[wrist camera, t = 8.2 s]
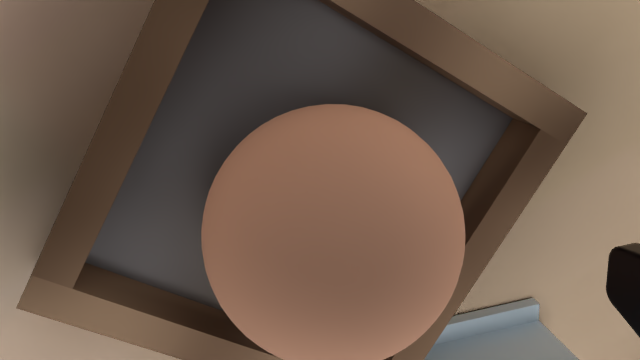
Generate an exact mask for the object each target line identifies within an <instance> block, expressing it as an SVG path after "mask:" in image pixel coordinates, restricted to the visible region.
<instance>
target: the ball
mask: <svg viewBox="0 0 640 360" xmlns="http://www.w3.org/2000/svg"><path fill="white" fill-rule="evenodd" d="M201 242H202V253H203V259H204V265H205V270H206V273H207V276H208V279H209V282H210V285H211V287H212V290H213V292H214V294H215V296H216V298H217V300H218V302H219V304H220V306H221V307H222V309H223V310H224V311H225V313H226V314H227V316H228V317H229V318H230V320H231V321H232V322H233V323H234V324H235V326H236V327H237V328H238V329H239V330H240V331H241V332H242V333H243V334H244V335H245V336H246V337H247V338H249V339H250V340H251V341H253V342H254V343H255V344H257V345H258V346H259V347H261V348H263V349H264V350H266V351H267V352H269V353H271V354H273V355H275V356H276V357H278V358H281V359H283V360H384V359H386V358H388V357H391V356H393V355H395V354H396V353H398V352H400V351H402V350H403V349H405V348H406V347H408V346H409V345H411V344H412V343H413V342H415V341H416V340H417V339H418V338H419V337H421V336H422V335H423V334H424V333H425V332H426V331H427V330H428V329H429V328H430V327H431V325H432V324H433V323H434V322H435V321H436V320H437V319H438V317H439V316H440V314H441V313H442V312H443V310H444V309H445V307H446V306H447V304H448V302H449V300H450V299H451V297H452V294H453V292H454V290H455V287H456V285H457V282H458V279H459V275H460V272H461V268H462V265H463V259H464V253H465V223H464V214H463V210H462V206H461V202H460V198H459V195H458V192H457V189H456V187H455V185H454V182H453V180H452V177H451V176H450V174H449V172H448V171H447V169H446V167H445V166H444V164H443V163H442V161H441V160H440V158H439V157H438V155H437V154H436V153H435V152H434V151H433V149H432V148H431V147H430V146H429V145H428V144H427V143H426V142H425V141H424V140H423V139H421V138H420V137H419V136H418V135H417V134H416V133H415V132H413V131H412V130H411V129H410V128H408V127H406V126H405V125H403V124H402V123H400V122H399V121H397V120H395V119H393V118H391V117H388V116H386V115H384V114H382V113H379V112H377V111H373V110H370V109H367V108H363V107H359V106H352V105H346V104H323V105H315V106H307V107H303V108H299V109H296V110H292V111H289V112H287V113H284V114H282V115H279V116H277V117H275V118H273V119H271V120H269V121H268V122H266V123H264V124H262V125H261V126H260V127H258V128H257V129H255V130H254V131H253V132H251V133H250V134H249V135H248V136H247V137H246V138H244V139H243V140H242V141H241V142H240V143H239V144H238V145H237V146H236V147H235V149H234V150H233V151H232V152H231V154H230V155H229V156H228V157H227V159H226V160H225V161H224V163H223V165H222V166H221V168H220V170H219V171H218V173H217V175H216V176H215V178H214V181H213V183H212V185H211V188H210V190H209V193H208V196H207V200H206V204H205V207H204V213H203V220H202V228H201Z"/></svg>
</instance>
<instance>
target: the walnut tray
mask: <svg viewBox="0 0 640 360" xmlns="http://www.w3.org/2000/svg"><path fill="white" fill-rule="evenodd" d="M323 104H346V105H352V106H359V107H363V108H367V109H370V110H373V111H377V112H379V113H382V114H384V115H386V116H388V117H391V118H393V119H395V120H397V121H399V122H400V123H402V124H403V125H405V126H406V127H408V128H410V129H411V130H412V131H413V132H415V133H416V134H417V135H418V136H419V137H420V138H421V139H423V140H424V141H425V142H426V143H427V144H428V145H429V146H430V147H431V148H432V149H433V151H434V152H435V153H436V154H437V155H438V157H439V158H440V160H441V161H442V163H443V164H444V166H445V167H446V169H447V171H448V172H449V174H450V176H451V177H452V180H453V182H454V185H455V187H456V189H457V192H458V195H459V198H460V202H461V206H462V210H463V214H464V223H465V253H464V259H463V265H462V268H461V272H460V275H459V279H458V282H457V285H456V287H455V290H454V292H453V294H452V297H451V299H450V300H449V302H448V304H447V306H446V307H445V309H444V310H443V312H442V313H441V314H440V316H439V317H438V319H437V320H436V321H435V322H434V323H433V324H432V325H431V327H430V328H429V329H428V330H427V331H426V332H425V333H424V334H423V335H422V336H421V337H419V338H418V339H417V340H416V341H415V342H413V343H412V344H411V345H409V346H408V347H406V348H405V349H403V350H402V351H400V352H398V353H396V354H395V355H393V356H391V357H388V358H386V359H384V360H424V359H425V357H426V356H427V354H428V353H429V351H430V350H431V348H432V347H433V345H434V344H435V342H436V341H437V339H438V338H439V336H440V335H441V333H442V332H443V330H444V329H445V327H446V326H447V324H448V323H449V321H450V320H451V318H452V317H453V315H454V314H455V312H456V311H457V309H458V308H459V306H460V305H461V303H462V302H463V300H464V299H465V297H466V296H467V294H468V293H469V291H470V290H471V288H472V287H473V285H474V283H475V282H476V280H477V279H478V277H479V276H480V274H481V273H482V271H483V270H484V268H485V267H486V265H487V264H488V262H489V261H490V259H491V258H492V256H493V255H494V253H495V252H496V250H497V249H498V247H499V246H500V244H501V243H502V241H503V240H504V238H505V237H506V235H507V234H508V232H509V231H510V229H511V228H512V226H513V225H514V223H515V222H516V220H517V219H518V217H519V216H520V214H521V213H522V211H523V210H524V208H525V207H526V205H527V204H528V202H529V200H530V199H531V197H532V196H533V194H534V193H535V191H536V190H537V188H538V187H539V185H540V184H541V182H542V181H543V179H544V178H545V176H546V175H547V173H548V172H549V170H550V169H551V167H552V166H553V164H554V163H555V161H556V160H557V158H558V157H559V155H560V154H561V152H562V151H563V149H564V148H565V146H566V145H567V143H568V142H569V140H570V139H571V137H572V136H573V134H574V133H575V131H576V130H577V128H578V127H579V125H580V124H581V122H582V121H583V119H584V118H585V116H586V114H587V113H586V112H584V111H583V110H581V109H580V108H578V107H576V106H575V105H573V104H572V103H570V102H569V101H567V100H566V99H564V98H563V97H561V96H560V95H558V94H557V93H555V92H554V91H552V90H550V89H549V88H547V87H546V86H544V85H543V84H541V83H540V82H538V81H537V80H535V79H534V78H532V77H531V76H529V75H527V74H526V73H524V72H523V71H521V70H520V69H518V68H517V67H515V66H514V65H512V64H511V63H509V62H508V61H506V60H505V59H503V58H501V57H500V56H498V55H497V54H495V53H494V52H492V51H491V50H489V49H488V48H486V47H485V46H483V45H482V44H480V43H478V42H477V41H475V40H474V39H472V38H471V37H469V36H468V35H466V34H465V33H463V32H462V31H460V30H459V29H457V28H456V27H454V26H452V25H451V24H449V23H448V22H446V21H445V20H443V19H442V18H440V17H439V16H437V15H436V14H434V13H433V12H431V11H429V10H428V9H426V8H425V7H423V6H422V5H420V4H419V3H417V2H416V1H414V0H155V1H154V3H153V6H152V8H151V10H150V12H149V14H148V17H147V19H146V21H145V23H144V26H143V28H142V30H141V32H140V34H139V37H138V39H137V41H136V43H135V45H134V48H133V50H132V52H131V54H130V57H129V59H128V61H127V63H126V65H125V68H124V70H123V72H122V74H121V77H120V79H119V81H118V83H117V85H116V88H115V90H114V92H113V94H112V97H111V99H110V101H109V103H108V105H107V108H106V110H105V112H104V114H103V117H102V119H101V121H100V123H99V125H98V128H97V130H96V132H95V134H94V137H93V139H92V141H91V143H90V145H89V148H88V150H87V152H86V154H85V156H84V159H83V161H82V163H81V165H80V168H79V170H78V172H77V174H76V176H75V179H74V181H73V183H72V185H71V188H70V190H69V192H68V194H67V196H66V199H65V201H64V203H63V205H62V208H61V210H60V212H59V214H58V216H57V219H56V221H55V223H54V225H53V228H52V230H51V232H50V234H49V236H48V239H47V241H46V243H45V245H44V248H43V250H42V252H41V254H40V256H39V259H38V261H37V263H36V265H35V268H34V270H33V272H32V274H31V276H30V279H29V281H28V283H27V285H26V287H25V290H24V292H23V294H22V296H21V299H20V301H19V303H18V305H17V307H16V308H17V309H21V310H24V311H27V312H30V313H34V314H37V315H40V316H43V317H47V318H50V319H53V320H56V321H59V322H63V323H66V324H69V325H72V326H76V327H79V328H82V329H85V330H88V331H92V332H95V333H98V334H101V335H105V336H108V337H111V338H114V339H118V340H121V341H124V342H127V343H130V344H134V345H137V346H140V347H143V348H147V349H150V350H153V351H156V352H160V353H163V354H166V355H169V356H172V357H176V358H179V359H182V360H283V359H281V358H278V357H276V356H275V355H273V354H271V353H269V352H267V351H266V350H264V349H263V348H261V347H259V346H258V345H257V344H255V343H254V342H253V341H251V340H250V339H249V338H247V337H246V336H245V335H244V334H243V333H242V332H241V331H240V330H239V329H238V328H237V327H236V326H235V324H234V323H233V322H232V321H231V320H230V318H229V317H228V316H227V314H226V313H225V311H224V310H223V309H222V307H221V306H220V304H219V302H218V300H217V298H216V296H215V294H214V292H213V290H212V287H211V285H210V282H209V279H208V276H207V273H206V270H205V265H204V259H203V253H202V242H201V228H202V220H203V213H204V207H205V204H206V200H207V196H208V193H209V190H210V188H211V185H212V183H213V181H214V178H215V176H216V175H217V173H218V171H219V170H220V168H221V166H222V165H223V163H224V161H225V160H226V159H227V157H228V156H229V155H230V154H231V152H232V151H233V150H234V149H235V147H236V146H237V145H238V144H239V143H240V142H241V141H242V140H243V139H244V138H246V137H247V136H248V135H249V134H250V133H251V132H253V131H254V130H255V129H257V128H258V127H260V126H261V125H262V124H264V123H266V122H268V121H269V120H271V119H273V118H275V117H277V116H279V115H282V114H284V113H287V112H289V111H292V110H296V109H299V108H303V107H307V106H315V105H323Z"/></svg>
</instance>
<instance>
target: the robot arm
mask: <svg viewBox="0 0 640 360" xmlns="http://www.w3.org/2000/svg"><path fill="white" fill-rule="evenodd" d="M606 291H607V295H608V298H609V300H610V301H611V303H612V304H613V305H614V307H615V308H616V309H617V310H618V311H619V313H620V314H621V315H622V316H623V318H624V319H625V320H626V321H627V323H628V324H629V325H630V326H631V327H632V329H633V330H634V331H635V332H636V334H637V335H638V336H639V337H640V244H639V243H632V244H627V245H623V246H618V247H615V248H614V249H612V250H611V252H610V254H609V261H608V271H607V282H606Z"/></svg>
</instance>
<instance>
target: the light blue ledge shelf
mask: <svg viewBox="0 0 640 360" xmlns="http://www.w3.org/2000/svg"><path fill="white" fill-rule="evenodd" d="M424 360H579V359H578V358H577V357H576V356H575V355H574V354H573V353H572V352H571V351H570V350H569V349H568V348H567V347H566V346H565V345H564V344H563V343H562V342H561V341H559V340H558V339H557V338H556V337H555V336H554V335H553V334H552V333H551V332H550V331H549V330H548V329H547V328H546V327H545V326H544V325H543V324H542V323H541V322H540V321H539V303H538V302H537V301H536V300H535V299H534V298H530V299H526V300H521V301H517V302H512V303H508V304H504V305H499V306H495V307H490V308H486V309H482V310H477V311H473V312H469V313H464V314H460V315H455V316H453V317H452V318H451V320H450V321H449V323H448V324H447V326H446V327H445V329H444V330H443V332H442V333H441V335H440V336H439V338H438V339H437V341H436V342H435V344H434V345H433V347H432V348H431V350H430V351H429V353H428V354H427V356H426V357H425V359H424Z"/></svg>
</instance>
